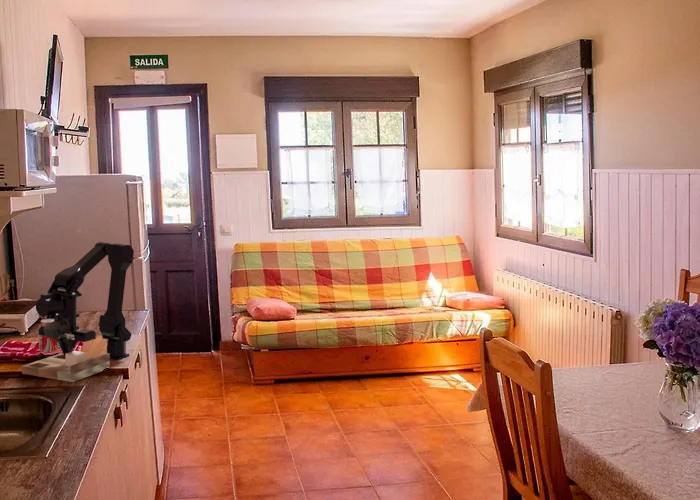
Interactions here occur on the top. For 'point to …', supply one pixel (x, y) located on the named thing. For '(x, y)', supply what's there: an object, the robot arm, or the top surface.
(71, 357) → the block
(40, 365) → the board
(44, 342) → the soda can
